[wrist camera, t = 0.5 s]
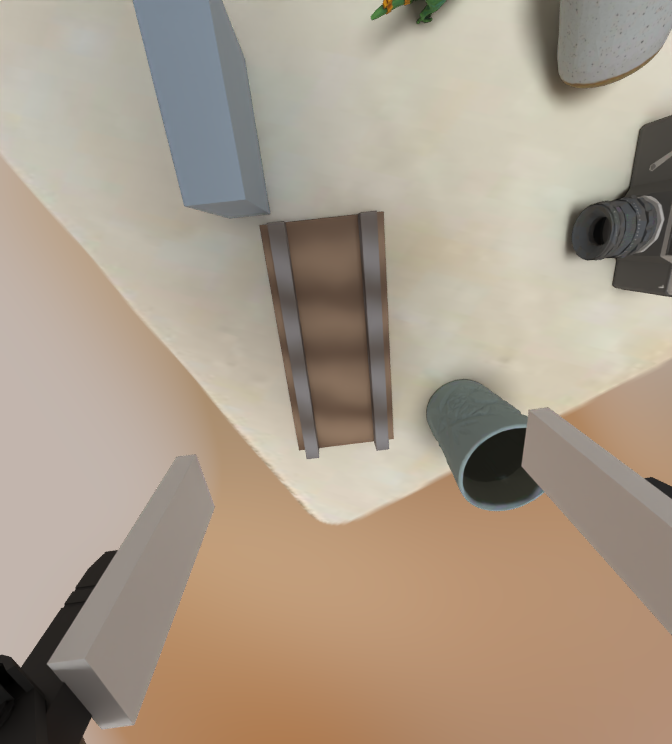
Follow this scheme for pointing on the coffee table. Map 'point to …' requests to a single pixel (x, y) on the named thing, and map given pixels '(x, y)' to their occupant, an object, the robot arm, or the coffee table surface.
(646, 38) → the ceramic mug
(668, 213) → the camera
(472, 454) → the grey green cup
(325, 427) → the door track
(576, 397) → the coffee table surface
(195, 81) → the door panel
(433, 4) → the figurine
